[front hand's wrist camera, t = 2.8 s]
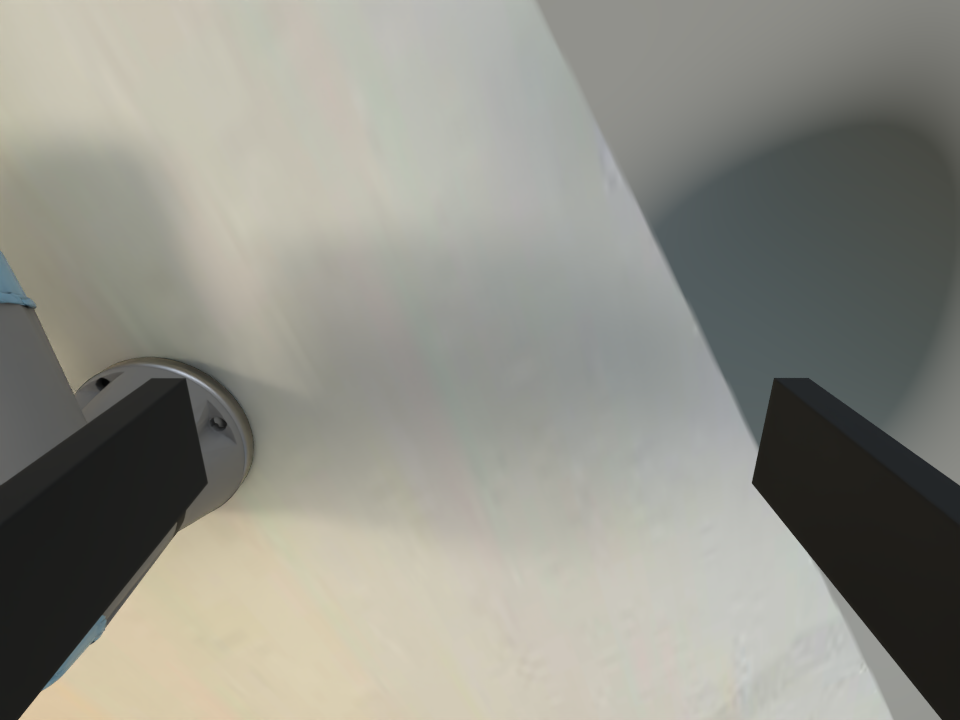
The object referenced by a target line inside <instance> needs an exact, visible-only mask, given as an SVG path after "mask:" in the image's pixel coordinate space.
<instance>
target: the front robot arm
mask: <svg viewBox="0 0 960 720" xmlns="http://www.w3.org/2000/svg"><path fill="white" fill-rule="evenodd" d="M35 308H36V305H35V303H34V301H33V300H31V299H30V298H28V297H27V296H26V294H25V293H24V291H23V289H22V287H21V286H20V284H19V282H18V280H17V278H16V276H15V275H14V273H13V271H12V269H11V267H10V266H9V264H8V262H7V260H6V258H5V256H4V255H3V253H2V252H1V251H0V720H18V719H19V718H20V717H21V715H22V714H23V713H24V712H25V710H26V709H27V708H28V707H29V706H30V704H31V703H32V702H33V701H34V699H35V698H36V697H37V696H38V694H39V693H40V692H41V691H42V690H44V689H46V688H47V687H49V686H50V685H52V684H53V683H54V682H56V681H57V680H58V679H59V678H60V677H61V676H62V675H63V674H64V673H65V672H66V671H67V670H68V669H69V668H70V667H71V665H72V664H73V663H74V662H75V661H76V660H77V659H78V657H79V656H80V655H81V654H82V653H83V652H84V651H85V650H86V648H87V647H88V646H89V645H90V644H92V643H94V642H95V641H96V640H97V639H98V638H100V637H101V635H102V633H103V631H105V628H106V626H107V625H108V624H109V622H110V621H111V620H112V618H113V617H114V616H115V614H116V613H117V612H118V610H119V609H120V608H121V606H122V605H123V604H124V602H125V601H126V600H127V598H128V597H129V596H130V594H131V593H132V592H133V590H134V589H135V588H136V586H137V585H138V584H139V582H140V581H141V580H142V578H143V577H144V576H145V574H146V573H147V572H148V570H149V569H150V568H151V566H152V565H153V564H154V562H155V561H156V560H157V558H158V557H159V556H160V554H161V553H162V552H163V550H164V549H165V548H166V546H167V545H168V544H169V542H170V541H171V540H172V538H173V537H174V536H175V535H176V533H177V532H178V531H180V530H181V529H183V528H185V527H187V526H188V525H190V524H192V523H193V522H195V521H197V520H198V519H200V518H202V517H203V516H205V515H206V514H208V513H210V512H212V511H214V510H215V509H217V508H219V507H220V506H222V505H223V504H224V503H226V502H227V501H228V500H229V499H230V498H231V497H232V496H233V494H234V493H235V492H236V490H237V489H238V487H239V486H240V485H241V483H242V482H243V480H244V479H245V477H246V476H247V474H248V472H249V469H250V467H251V464H252V459H253V451H254V443H253V436H252V431H251V428H250V425H249V422H248V420H247V417H246V415H245V413H244V412H243V410H242V408H241V407H240V405H239V404H238V402H237V401H236V400H235V398H234V397H233V396H232V395H231V394H230V393H229V392H228V391H227V390H226V389H225V388H224V387H223V386H222V385H221V384H220V383H218V382H217V381H216V380H214V379H213V378H212V377H210V376H209V375H207V374H205V373H204V372H202V371H200V370H198V369H196V368H194V367H192V366H189V365H187V364H184V363H181V362H178V361H174V360H169V359H164V358H153V357H145V358H135V359H129V360H125V361H122V362H119V363H117V364H114V365H112V366H110V367H108V368H107V369H105V370H103V371H102V372H100V373H98V374H97V375H95V376H94V377H92V378H91V379H89V380H88V381H87V382H85V383H84V384H83V385H82V386H81V387H80V388H79V390H78V391H77V392H76V394H75V395H74V394H73V391H72V389H71V387H70V385H69V383H68V381H67V379H66V376H65V374H64V372H63V370H62V368H61V366H60V364H59V361H58V359H57V357H56V355H55V353H54V351H53V349H52V346H51V344H50V342H49V340H48V338H47V336H46V334H45V331H44V329H43V327H42V325H41V323H40V321H39V319H38V316H37V314H36V312H35V310H34V309H35ZM752 484H753V485H754V486H755V488H756V489H757V490H758V491H759V493H760V494H761V495H762V496H763V498H764V499H765V500H766V501H767V503H768V504H769V505H770V506H771V508H772V509H773V510H774V511H775V513H776V514H777V515H778V516H779V518H780V519H781V520H782V521H783V523H784V524H785V525H786V526H787V527H788V529H789V530H790V531H791V532H792V534H793V535H794V536H795V537H796V539H797V540H798V541H799V542H800V544H801V545H802V546H803V547H804V549H805V550H806V551H807V552H808V554H809V555H810V556H811V557H812V559H813V560H814V561H815V562H816V564H817V565H818V566H819V567H820V569H821V570H822V571H823V572H824V574H825V575H826V576H827V577H828V578H829V580H830V581H831V582H832V583H833V585H834V586H835V587H836V588H837V590H838V591H839V592H840V593H841V595H842V596H843V597H844V598H845V600H846V601H847V602H848V603H849V605H850V606H851V607H852V608H853V610H854V611H855V612H856V613H857V615H858V616H859V617H860V618H861V620H862V621H863V622H864V623H865V625H866V626H867V627H868V628H869V630H870V631H871V632H872V633H873V635H874V636H875V637H876V638H877V640H878V641H879V642H880V643H881V645H882V646H883V647H884V648H885V649H886V651H887V652H888V653H889V654H890V656H891V657H892V658H893V659H894V661H895V662H896V663H897V664H898V666H899V667H900V668H901V669H902V671H903V672H904V673H905V674H906V676H907V677H908V678H909V679H910V681H911V682H912V683H913V684H914V686H915V687H916V688H917V689H918V691H919V692H920V693H921V694H922V696H923V697H924V698H925V699H926V700H927V702H928V703H929V704H930V706H931V707H932V708H933V709H934V710H935V712H936V713H937V714H938V715H939V717H940V718H941V719H942V720H960V486H959V485H958V484H957V483H955V482H954V481H952V480H951V479H950V478H948V477H947V476H945V475H944V474H943V473H941V472H940V471H938V470H937V469H935V468H934V467H933V466H931V465H930V464H928V463H927V462H926V461H924V460H923V459H922V458H920V457H919V456H917V455H916V454H914V453H913V452H912V451H910V450H909V449H907V448H906V447H905V446H903V445H902V444H900V443H899V442H898V441H896V440H895V439H893V438H892V437H891V436H889V435H888V434H886V433H885V432H884V431H882V430H881V429H879V428H878V427H876V426H875V425H874V424H872V423H871V422H869V421H868V420H867V419H865V418H864V417H862V416H861V415H860V414H858V413H857V412H855V411H854V410H852V409H851V408H850V407H848V406H847V405H846V404H844V403H843V402H841V401H840V400H838V399H837V398H836V397H834V396H833V395H831V394H830V393H829V392H827V391H826V390H824V389H823V388H822V387H820V386H819V385H817V384H816V383H815V382H813V381H812V380H810V379H809V378H774V381H773V386H772V390H771V395H770V400H769V404H768V409H767V414H766V419H765V423H764V428H763V433H762V438H761V442H760V447H759V452H758V456H757V461H756V466H755V470H754V475H753V480H752Z"/></svg>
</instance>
